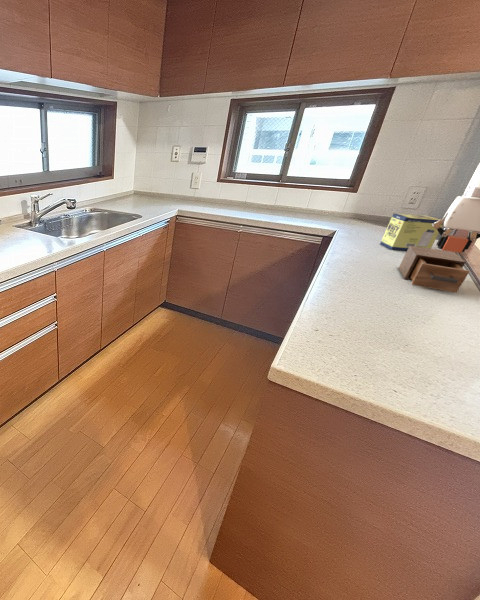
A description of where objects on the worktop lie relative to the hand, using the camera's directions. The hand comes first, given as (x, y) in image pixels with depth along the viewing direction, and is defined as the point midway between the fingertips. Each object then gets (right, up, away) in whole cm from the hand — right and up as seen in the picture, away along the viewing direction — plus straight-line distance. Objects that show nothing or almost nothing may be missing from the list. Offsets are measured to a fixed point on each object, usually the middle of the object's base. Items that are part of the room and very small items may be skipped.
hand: (450, 249), depth 110 cm
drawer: (0, -12, +6) cm, 13 cm away
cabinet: (+6, -9, +15) cm, 18 cm away
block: (0, 0, 0) cm, 0 cm away
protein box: (+33, +8, +49) cm, 60 cm away
